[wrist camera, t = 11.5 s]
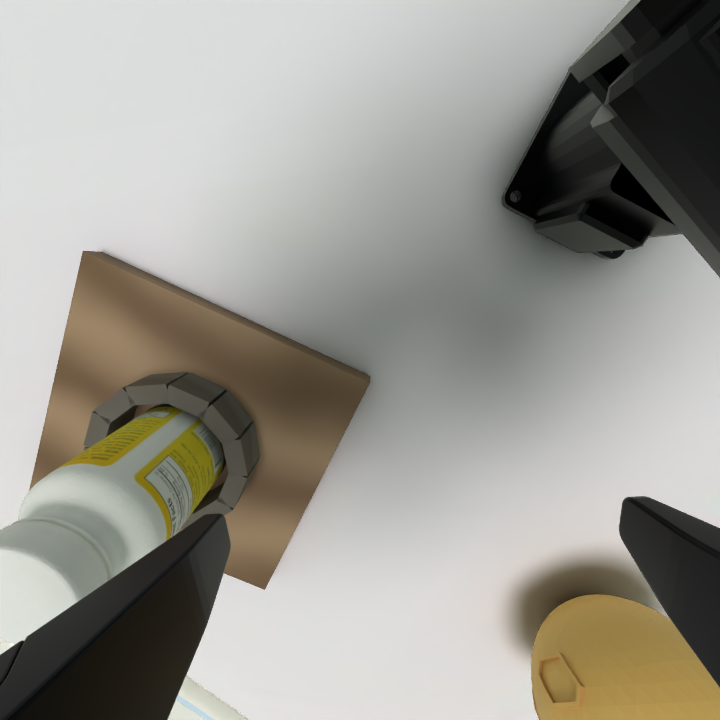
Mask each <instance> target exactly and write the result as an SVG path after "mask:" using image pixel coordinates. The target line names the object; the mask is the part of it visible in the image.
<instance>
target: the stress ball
mask: <svg viewBox="0 0 720 720" xmlns="http://www.w3.org/2000/svg"><path fill="white" fill-rule="evenodd" d="M531 680H532V692H533V700H534V706H535V710H536V713H537V715H538V718H539V720H720V688H719V686H718V685H717V683H716V682H715V681H714V679H713V678H712V677H711V675H710V674H709V672H708V671H707V670H706V668H705V667H704V665H703V664H702V663H701V661H700V660H699V659H698V657H697V656H696V654H695V653H694V652H693V650H692V649H691V647H690V646H689V645H688V643H687V642H686V640H685V639H684V638H683V636H682V635H681V634H680V632H679V631H678V629H677V628H676V626H675V625H674V624H673V622H672V621H671V619H669V618H668V617H666V616H664V615H662V614H661V613H659V612H657V611H655V610H654V609H652V608H649V607H647V606H645V605H643V604H640V603H638V602H635V601H632V600H629V599H625V598H622V597H617V596H612V595H601V594H594V595H584V596H579V597H575V598H573V599H570V600H568V601H566V602H564V603H562V604H561V605H559V606H557V607H556V608H555V609H554V610H553V611H552V612H551V613H549V615H548V616H547V618H546V619H545V620H544V622H543V623H542V625H541V627H540V629H539V631H538V633H537V636H536V639H535V641H534V646H533V651H532V659H531Z"/></svg>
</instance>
